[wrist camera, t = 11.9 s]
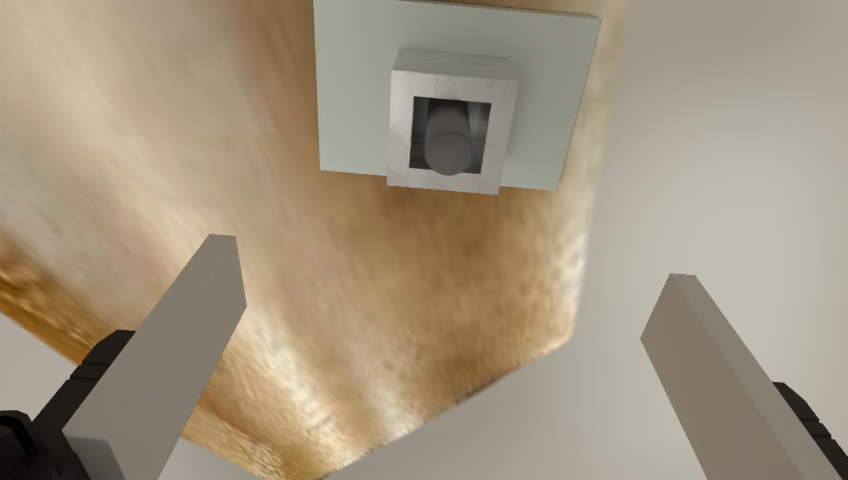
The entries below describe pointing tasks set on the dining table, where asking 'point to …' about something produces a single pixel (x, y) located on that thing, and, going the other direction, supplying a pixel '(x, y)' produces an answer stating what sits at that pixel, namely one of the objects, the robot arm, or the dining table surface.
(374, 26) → the post block
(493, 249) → the dining table surface
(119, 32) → the dining table surface
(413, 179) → the collar
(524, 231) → the dining table surface
